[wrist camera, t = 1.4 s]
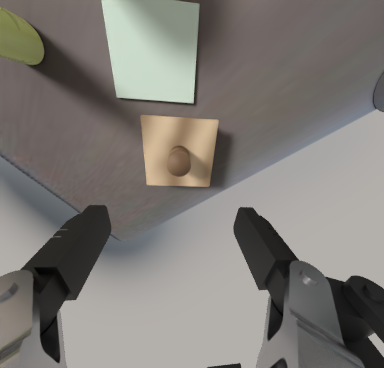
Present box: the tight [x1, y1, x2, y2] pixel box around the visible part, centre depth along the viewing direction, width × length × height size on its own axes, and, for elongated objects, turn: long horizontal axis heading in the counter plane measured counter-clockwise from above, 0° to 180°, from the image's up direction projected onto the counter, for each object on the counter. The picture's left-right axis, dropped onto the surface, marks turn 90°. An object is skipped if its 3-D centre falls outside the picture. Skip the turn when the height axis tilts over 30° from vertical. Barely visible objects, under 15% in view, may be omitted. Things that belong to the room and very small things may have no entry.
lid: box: [140, 115, 219, 187], centre depth 21 cm, size 11×11×5 cm
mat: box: [102, 0, 200, 103], centre depth 21 cm, size 12×11×1 cm
